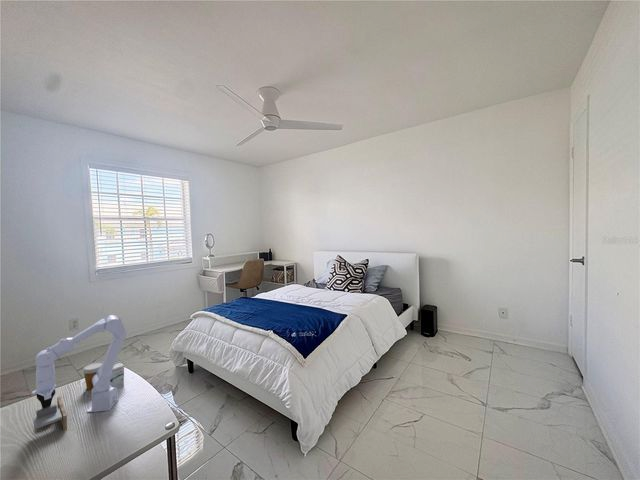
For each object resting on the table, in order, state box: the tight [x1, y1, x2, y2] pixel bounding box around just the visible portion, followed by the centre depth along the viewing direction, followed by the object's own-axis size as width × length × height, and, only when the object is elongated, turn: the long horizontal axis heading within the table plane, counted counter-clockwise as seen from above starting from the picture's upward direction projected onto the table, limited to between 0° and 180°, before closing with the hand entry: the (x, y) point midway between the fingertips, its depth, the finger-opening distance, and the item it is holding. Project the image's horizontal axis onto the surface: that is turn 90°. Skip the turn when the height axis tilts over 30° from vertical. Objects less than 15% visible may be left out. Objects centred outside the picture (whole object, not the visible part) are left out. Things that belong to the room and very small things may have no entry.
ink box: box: [110, 362, 125, 389], centre depth 143 cm, size 9×5×12 cm, turn 143°
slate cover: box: [32, 403, 62, 430], centre depth 111 cm, size 8×8×4 cm
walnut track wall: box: [56, 395, 68, 431], centre depth 119 cm, size 20×1×6 cm, turn 51°
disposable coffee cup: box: [82, 361, 103, 391], centre depth 143 cm, size 10×10×12 cm
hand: (46, 408), depth 114 cm, fingers closed
